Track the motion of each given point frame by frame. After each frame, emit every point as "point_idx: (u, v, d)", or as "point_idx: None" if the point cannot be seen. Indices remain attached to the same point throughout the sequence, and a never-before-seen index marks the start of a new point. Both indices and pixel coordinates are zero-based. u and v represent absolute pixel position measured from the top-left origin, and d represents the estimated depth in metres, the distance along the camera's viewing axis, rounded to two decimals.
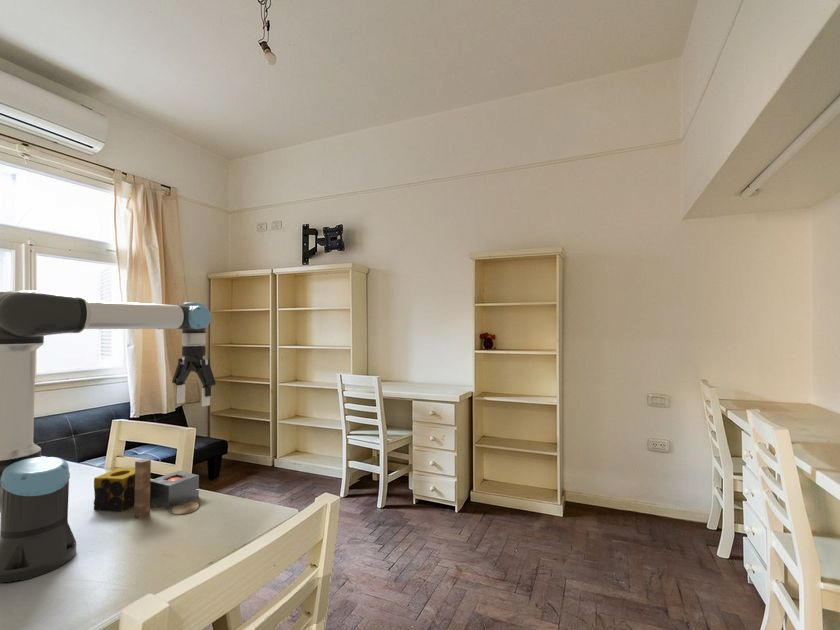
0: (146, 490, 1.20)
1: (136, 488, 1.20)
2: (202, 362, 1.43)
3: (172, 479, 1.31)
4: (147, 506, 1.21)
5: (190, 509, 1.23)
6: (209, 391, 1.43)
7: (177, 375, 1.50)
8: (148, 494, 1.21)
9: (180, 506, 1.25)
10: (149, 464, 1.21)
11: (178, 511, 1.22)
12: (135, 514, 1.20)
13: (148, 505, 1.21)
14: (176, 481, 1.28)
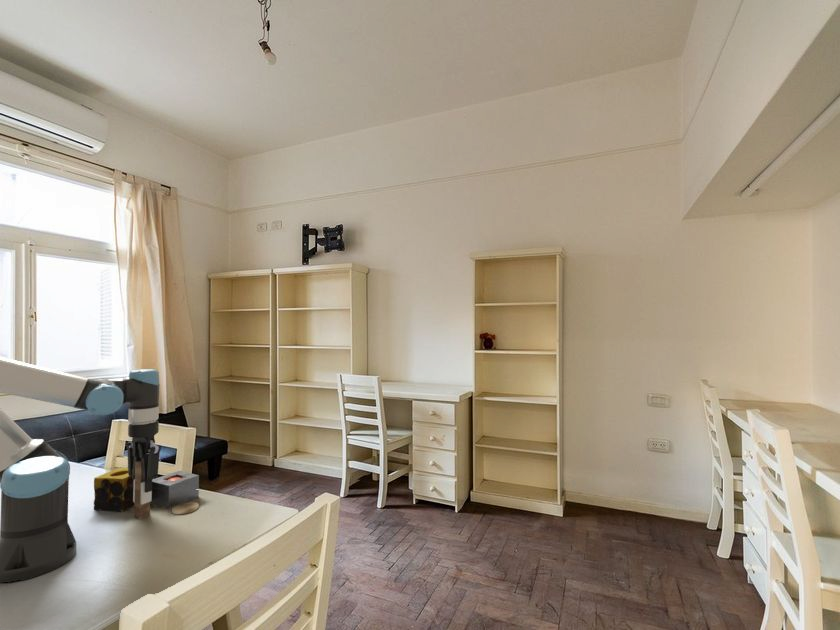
0: None
1: (136, 488, 1.20)
2: (151, 450, 1.18)
3: (172, 479, 1.31)
4: (147, 506, 1.21)
5: (190, 509, 1.23)
6: (150, 485, 1.20)
7: (131, 463, 1.22)
8: None
9: (180, 506, 1.25)
10: None
11: (178, 511, 1.22)
12: (135, 514, 1.20)
13: (148, 505, 1.21)
14: (176, 481, 1.28)
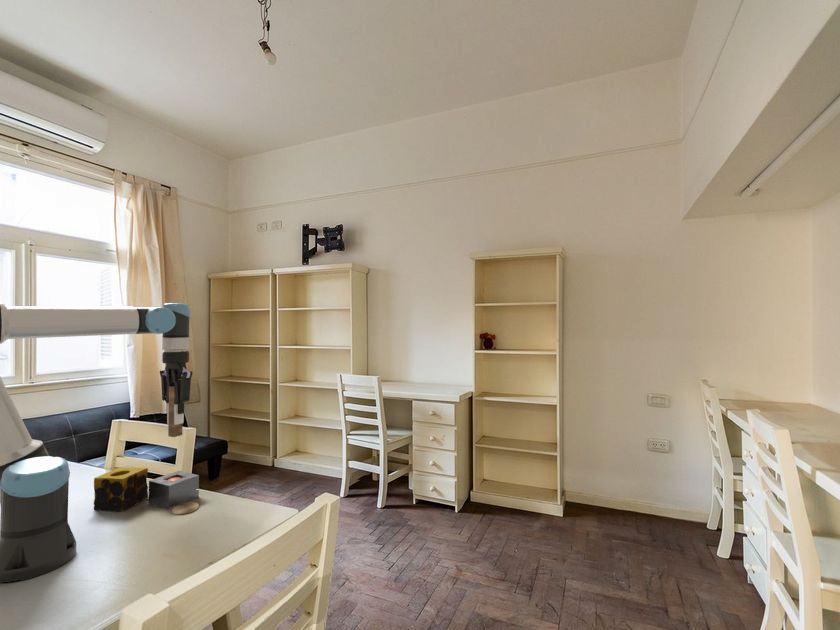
0: None
1: (170, 410, 1.31)
2: (183, 375, 1.29)
3: (172, 479, 1.31)
4: (180, 427, 1.32)
5: (190, 509, 1.23)
6: (182, 408, 1.31)
7: (165, 389, 1.33)
8: None
9: (180, 506, 1.25)
10: None
11: (178, 511, 1.22)
12: (169, 434, 1.31)
13: (181, 426, 1.32)
14: (176, 481, 1.28)
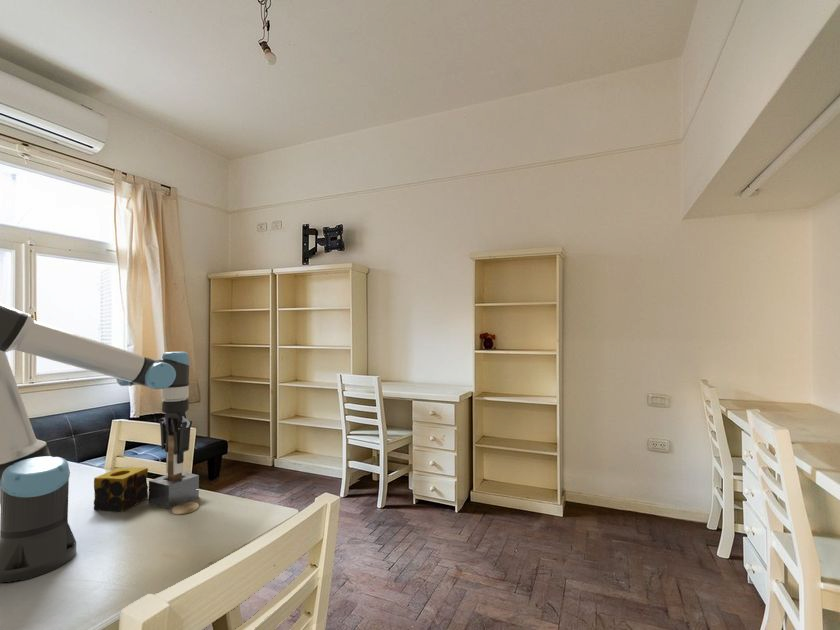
0: None
1: (169, 460, 1.31)
2: (183, 425, 1.29)
3: None
4: (179, 476, 1.32)
5: (190, 509, 1.23)
6: (181, 457, 1.31)
7: (164, 438, 1.33)
8: None
9: (180, 506, 1.25)
10: None
11: (178, 511, 1.22)
12: None
13: (180, 475, 1.32)
14: (176, 481, 1.28)
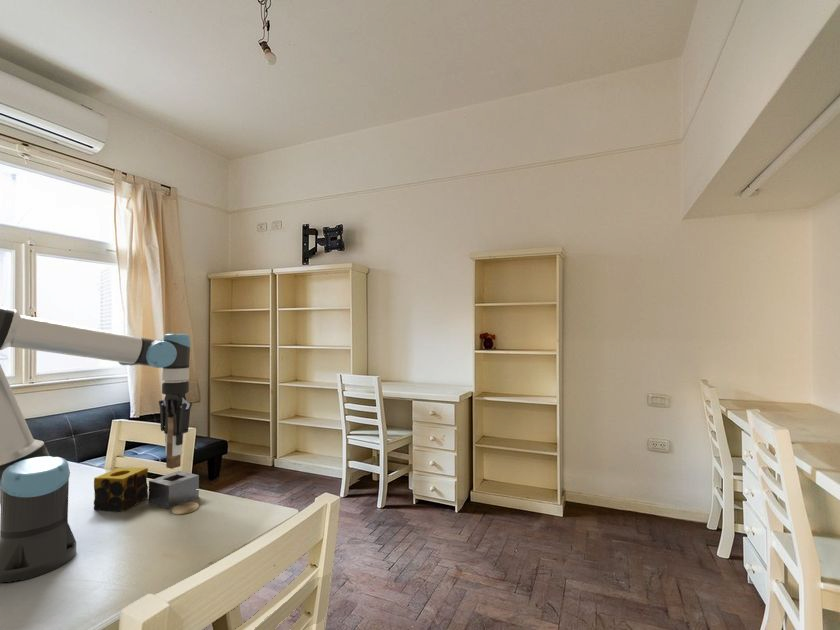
0: None
1: (168, 441, 1.31)
2: (183, 406, 1.29)
3: None
4: (178, 458, 1.31)
5: (190, 509, 1.23)
6: (181, 439, 1.30)
7: (163, 420, 1.33)
8: None
9: (180, 506, 1.25)
10: None
11: (178, 511, 1.22)
12: (167, 465, 1.31)
13: (179, 458, 1.32)
14: (176, 481, 1.28)
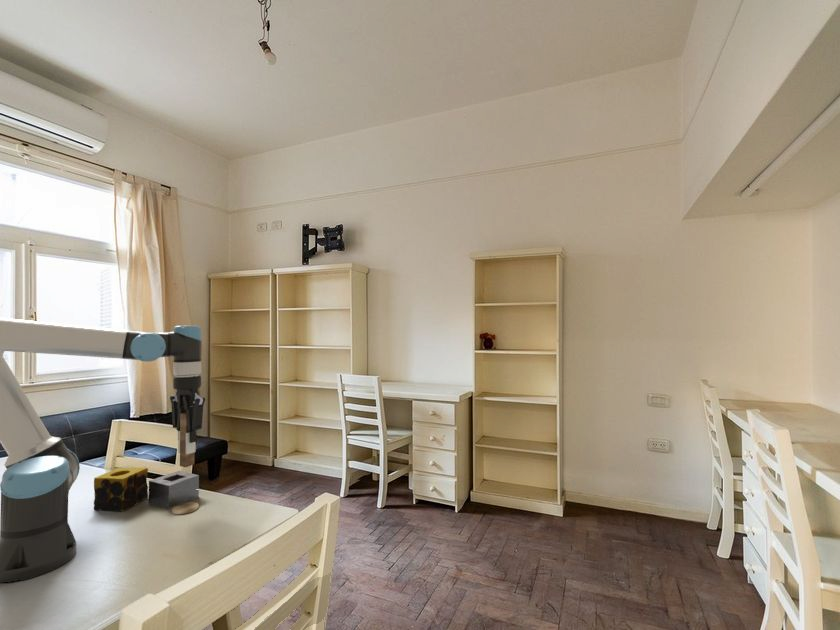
0: None
1: (181, 439, 1.24)
2: (196, 402, 1.22)
3: None
4: (192, 456, 1.25)
5: (190, 509, 1.23)
6: (194, 436, 1.24)
7: (175, 416, 1.26)
8: None
9: (180, 506, 1.25)
10: None
11: (178, 511, 1.22)
12: (181, 464, 1.24)
13: (193, 455, 1.25)
14: (176, 481, 1.28)
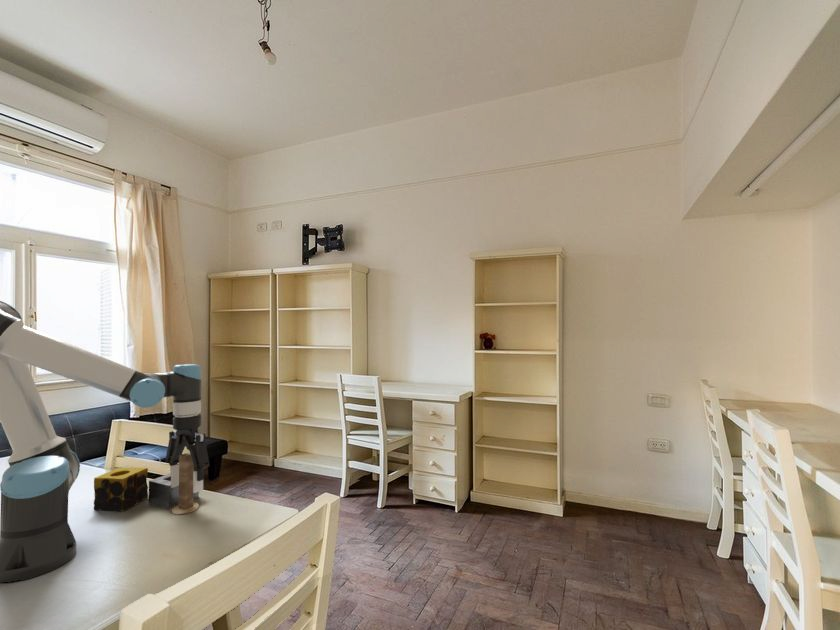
0: (190, 483, 1.24)
1: (180, 481, 1.24)
2: (197, 439, 1.21)
3: None
4: (190, 498, 1.24)
5: (190, 509, 1.23)
6: (202, 474, 1.22)
7: (170, 452, 1.27)
8: (192, 487, 1.25)
9: None
10: None
11: (178, 511, 1.22)
12: (179, 506, 1.23)
13: (192, 497, 1.25)
14: None
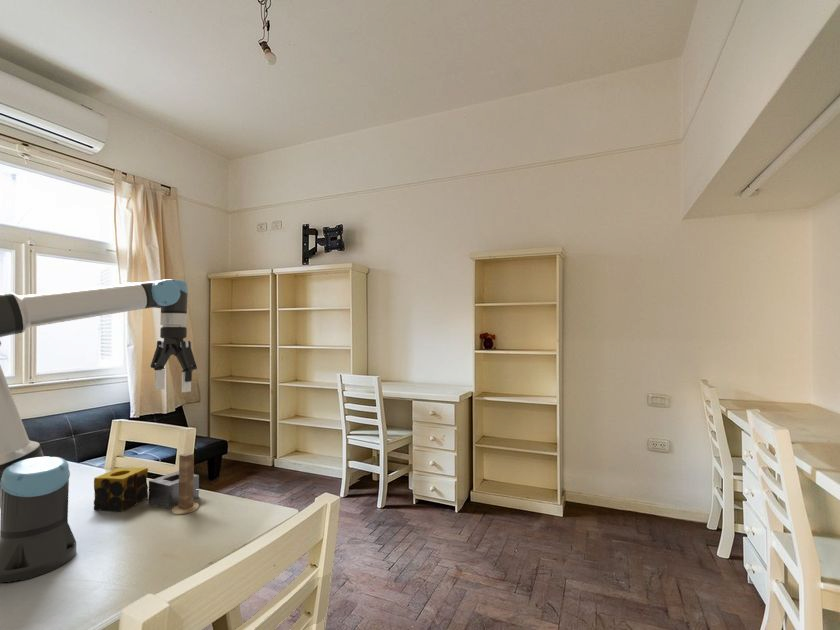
0: (190, 483, 1.24)
1: (180, 481, 1.24)
2: (182, 344, 1.31)
3: None
4: (190, 498, 1.24)
5: (190, 509, 1.23)
6: (190, 376, 1.31)
7: (156, 359, 1.38)
8: (192, 487, 1.25)
9: None
10: (192, 458, 1.25)
11: (178, 511, 1.22)
12: (179, 506, 1.23)
13: (192, 497, 1.25)
14: (176, 481, 1.28)
